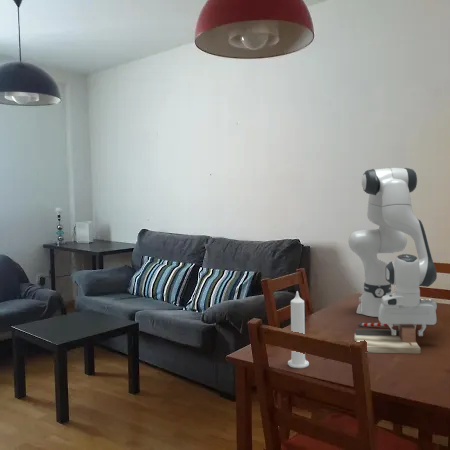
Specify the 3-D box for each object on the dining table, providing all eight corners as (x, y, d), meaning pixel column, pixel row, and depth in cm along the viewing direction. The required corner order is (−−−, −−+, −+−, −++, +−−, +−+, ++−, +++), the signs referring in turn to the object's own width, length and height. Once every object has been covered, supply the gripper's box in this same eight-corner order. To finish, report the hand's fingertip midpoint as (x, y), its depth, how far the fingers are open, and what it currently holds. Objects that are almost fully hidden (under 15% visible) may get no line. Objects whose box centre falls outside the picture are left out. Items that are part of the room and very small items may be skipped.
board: (354, 338, 193) (354, 328, 193) (410, 339, 190) (410, 329, 189) (359, 352, 177) (359, 341, 177) (420, 353, 174) (420, 342, 174)
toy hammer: (356, 331, 204) (356, 315, 203) (361, 323, 214) (361, 308, 214) (415, 337, 194) (415, 321, 193) (417, 328, 204) (417, 313, 204)
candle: (306, 360, 170) (305, 288, 168) (310, 368, 163) (310, 293, 161) (286, 361, 170) (285, 289, 168) (289, 368, 163) (288, 294, 161)
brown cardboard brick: (398, 336, 188) (398, 323, 187) (411, 336, 187) (411, 323, 187) (402, 342, 181) (402, 328, 180) (415, 342, 180) (415, 328, 180)
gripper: (434, 297, 184) (434, 333, 185) (377, 296, 187) (377, 332, 189) (439, 301, 178) (438, 338, 179) (380, 300, 181) (380, 337, 182)
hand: (407, 335), depth 184 cm, fingers open, 8 cm apart
